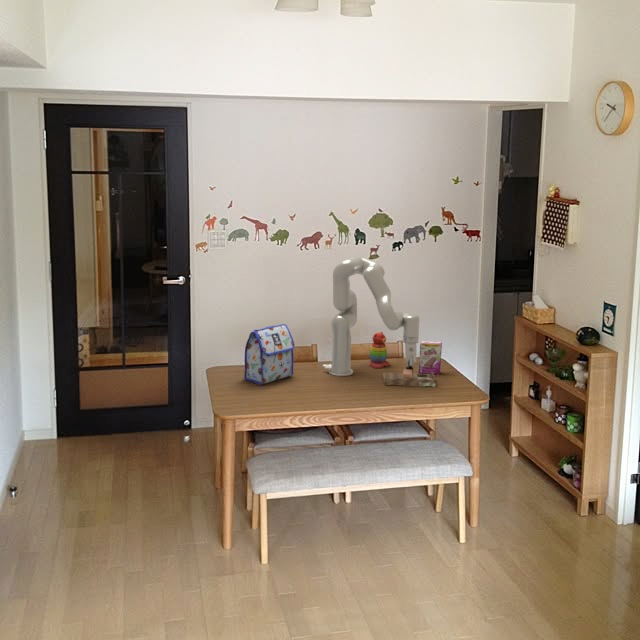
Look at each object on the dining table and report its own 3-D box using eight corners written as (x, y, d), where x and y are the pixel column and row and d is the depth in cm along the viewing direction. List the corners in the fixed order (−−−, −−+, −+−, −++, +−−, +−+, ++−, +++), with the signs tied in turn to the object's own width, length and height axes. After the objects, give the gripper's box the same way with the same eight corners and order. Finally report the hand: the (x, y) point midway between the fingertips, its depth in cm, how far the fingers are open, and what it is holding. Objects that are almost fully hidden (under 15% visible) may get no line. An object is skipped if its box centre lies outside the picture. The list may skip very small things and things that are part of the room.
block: (402, 380, 422) (403, 373, 419) (403, 375, 425) (403, 369, 423) (411, 381, 421) (411, 374, 419) (412, 376, 424) (412, 369, 422)
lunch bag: (264, 387, 413) (264, 333, 407) (241, 379, 424) (241, 327, 418) (297, 377, 430) (298, 326, 424) (274, 371, 441) (274, 320, 434)
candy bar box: (418, 373, 440) (420, 343, 437) (418, 371, 445) (419, 340, 441) (440, 374, 439) (442, 344, 435) (440, 372, 444) (441, 341, 440)
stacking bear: (378, 369, 447) (379, 336, 443) (364, 365, 454) (365, 332, 450) (392, 365, 454) (393, 333, 450) (378, 361, 461) (379, 329, 457)
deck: (384, 385, 419) (384, 378, 418) (383, 376, 434) (383, 370, 433) (435, 386, 419) (435, 379, 418) (432, 377, 433) (432, 371, 433)
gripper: (419, 343, 414) (418, 379, 418) (417, 335, 429) (415, 370, 433) (404, 342, 414) (403, 379, 418) (402, 335, 429) (400, 370, 433)
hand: (409, 374), depth 425 cm, fingers closed
